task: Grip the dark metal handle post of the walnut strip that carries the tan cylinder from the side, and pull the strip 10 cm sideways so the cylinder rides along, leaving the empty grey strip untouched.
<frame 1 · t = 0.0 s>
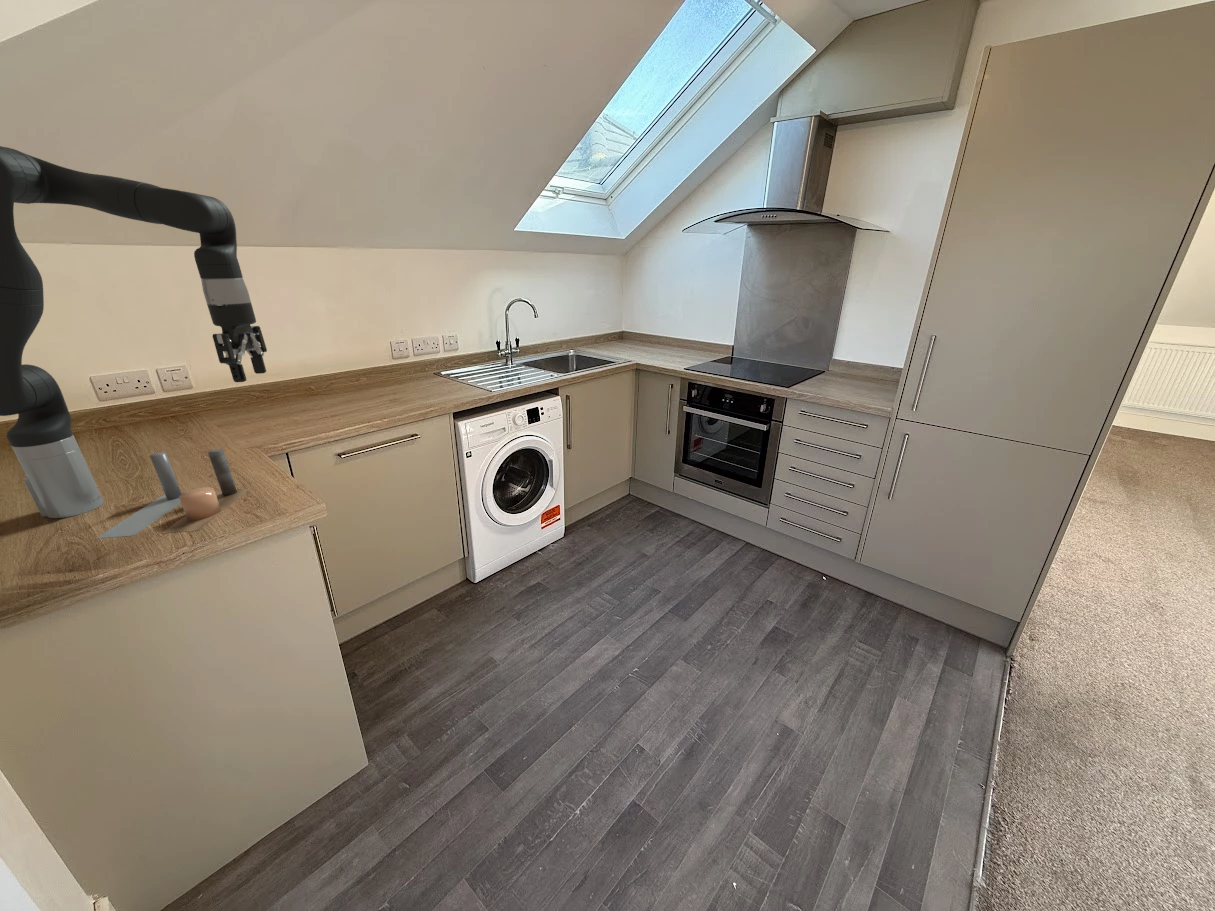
hand: (251, 377, 107), 29 cm above the counter, tool pointing down, fingers open, 8 cm apart
grey strip: (142, 493, 104), point 6 cm above the counter, slide at 0.0 cm
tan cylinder: (204, 513, 106), point 1 cm above the counter, touching walnut strip
walnut strip: (202, 489, 106), point 6 cm above the counter, slide at 0.0 cm, touching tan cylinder
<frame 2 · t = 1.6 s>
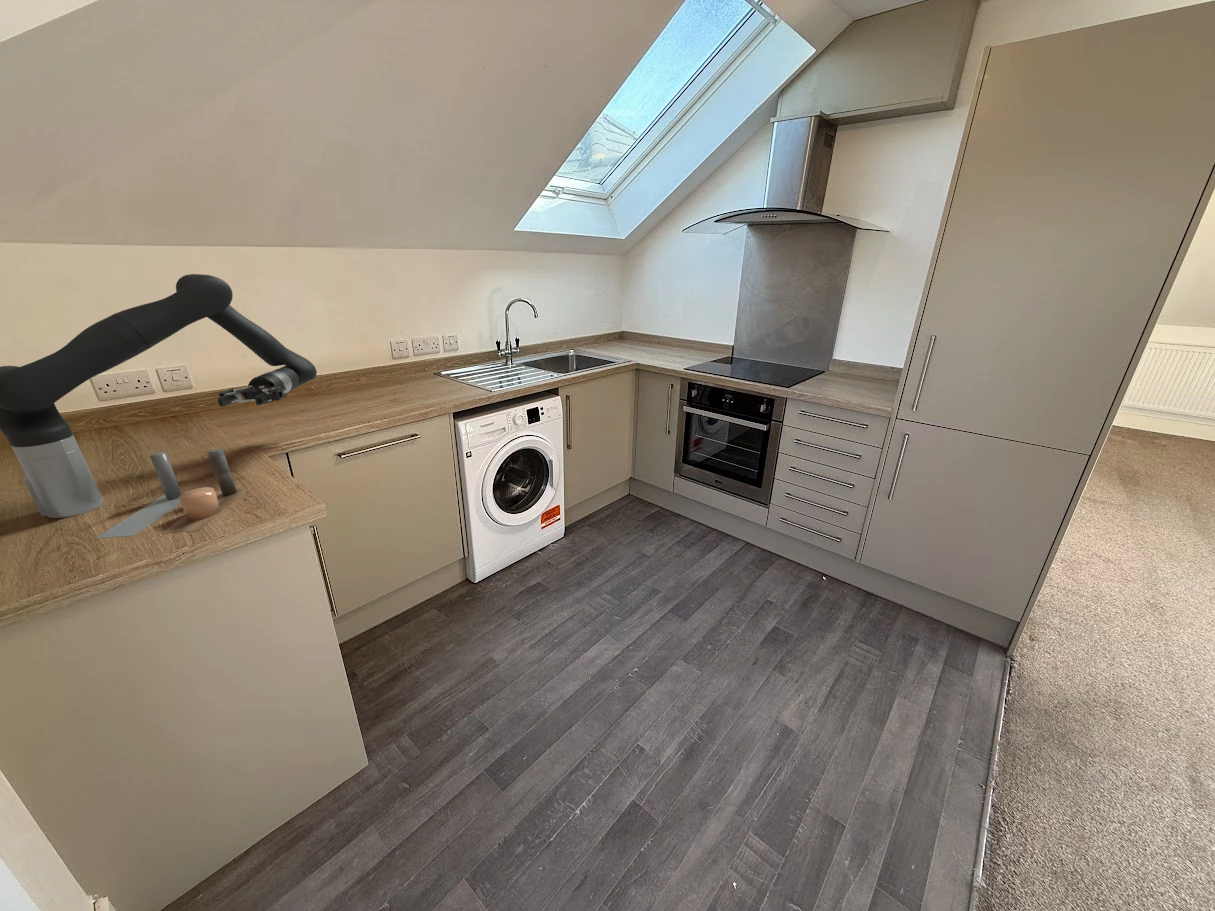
hand: (239, 402, 121), 20 cm above the counter, tool horizontal, fingers open, 8 cm apart
nothing on the counter moved.
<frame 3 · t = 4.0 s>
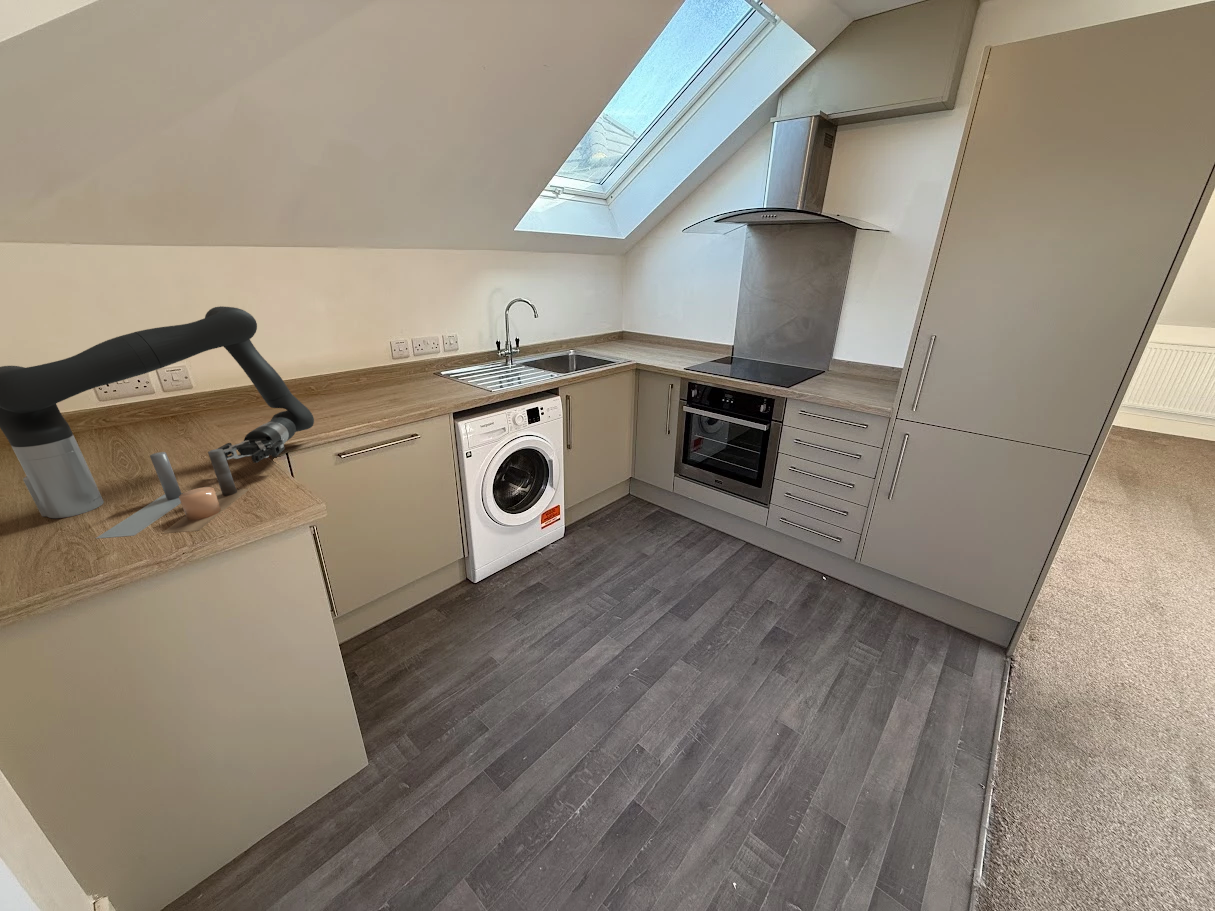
hand: (234, 460, 118), 7 cm above the counter, tool horizontal, fingers open, 8 cm apart
nothing on the counter moved.
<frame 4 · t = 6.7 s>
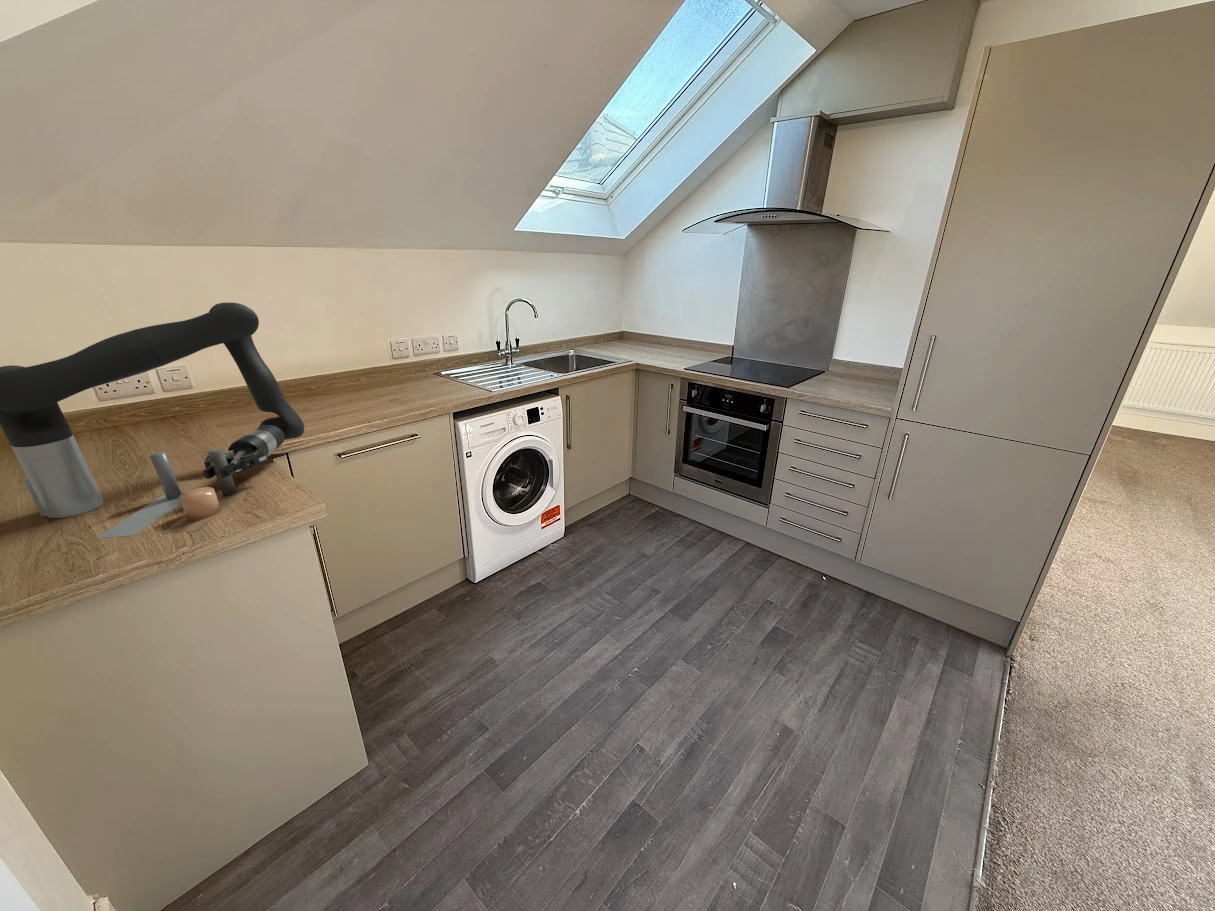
hand: (214, 474, 110), 8 cm above the counter, tool horizontal, fingers closed on walnut strip, 3 cm apart
walnut strip: (202, 489, 106), point 6 cm above the counter, slide at 0.0 cm, touching gripper, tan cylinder
everything else where it was.
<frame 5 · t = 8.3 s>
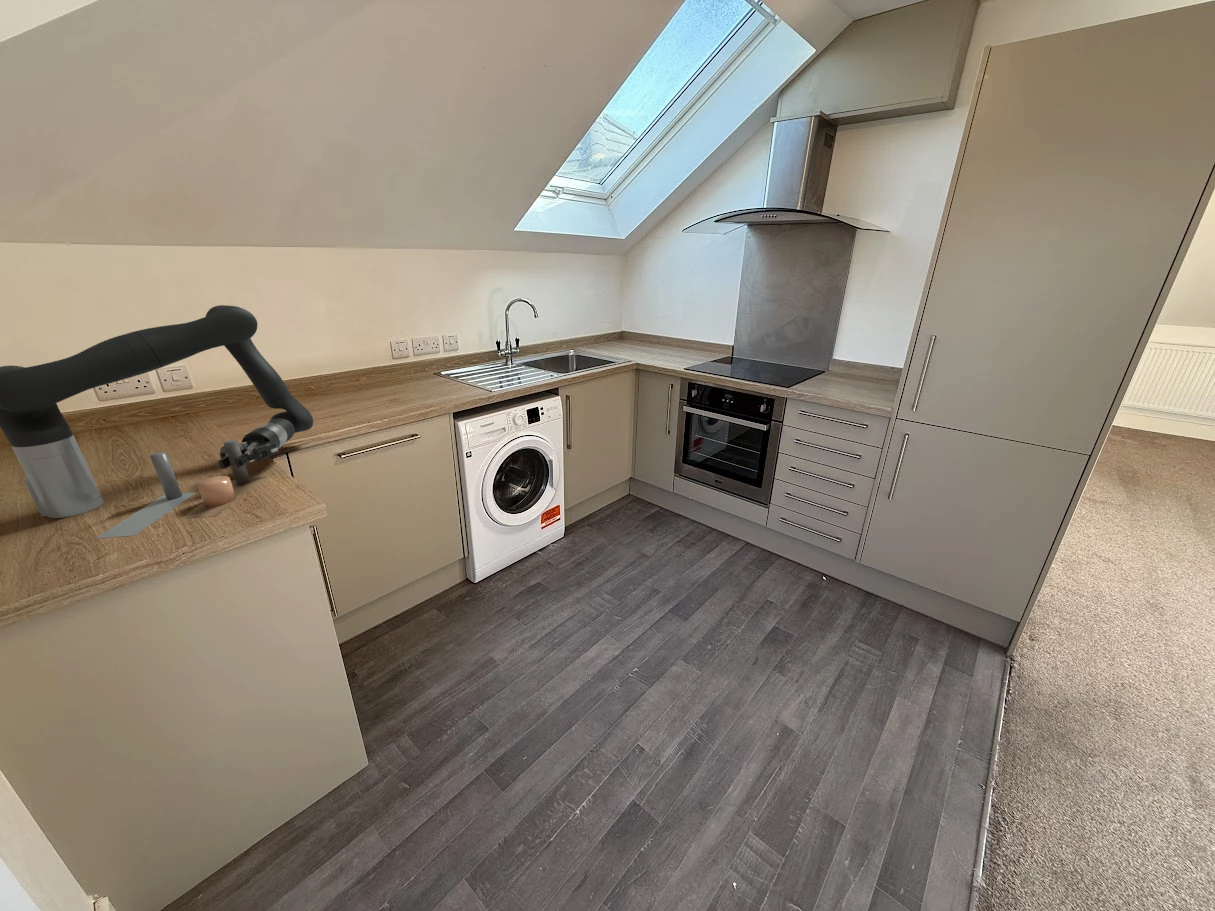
hand: (229, 464, 116), 8 cm above the counter, tool horizontal, fingers closed on walnut strip, 3 cm apart
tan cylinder: (220, 500, 112), point 1 cm above the counter, touching walnut strip
walnut strip: (218, 478, 112), point 6 cm above the counter, slide at 6.1 cm, touching gripper, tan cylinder
everything else where it was.
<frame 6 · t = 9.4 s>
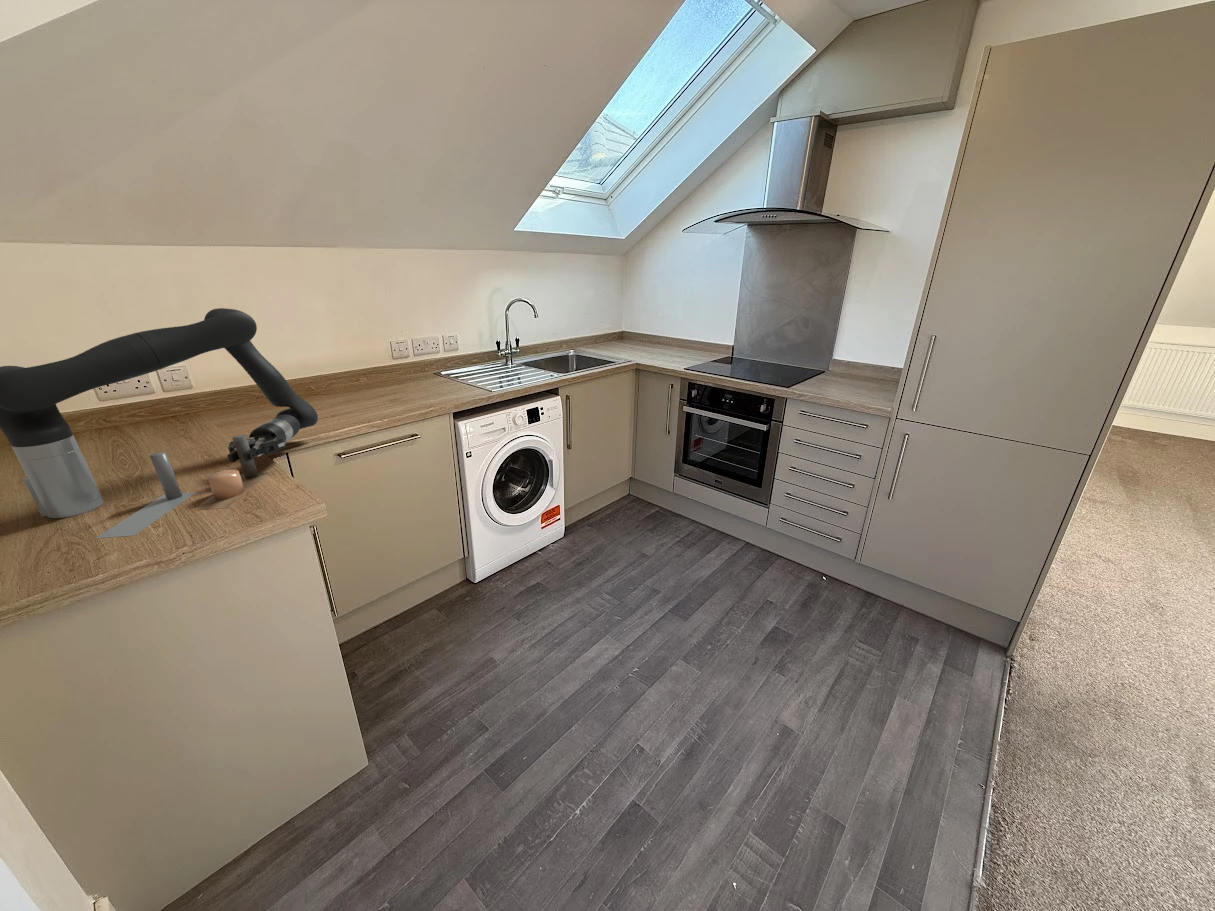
hand: (238, 458, 119), 8 cm above the counter, tool horizontal, fingers closed on walnut strip, 3 cm apart
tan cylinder: (229, 493, 115), point 1 cm above the counter, touching walnut strip
walnut strip: (228, 471, 115), point 6 cm above the counter, slide at 9.9 cm, touching gripper, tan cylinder
everything else where it was.
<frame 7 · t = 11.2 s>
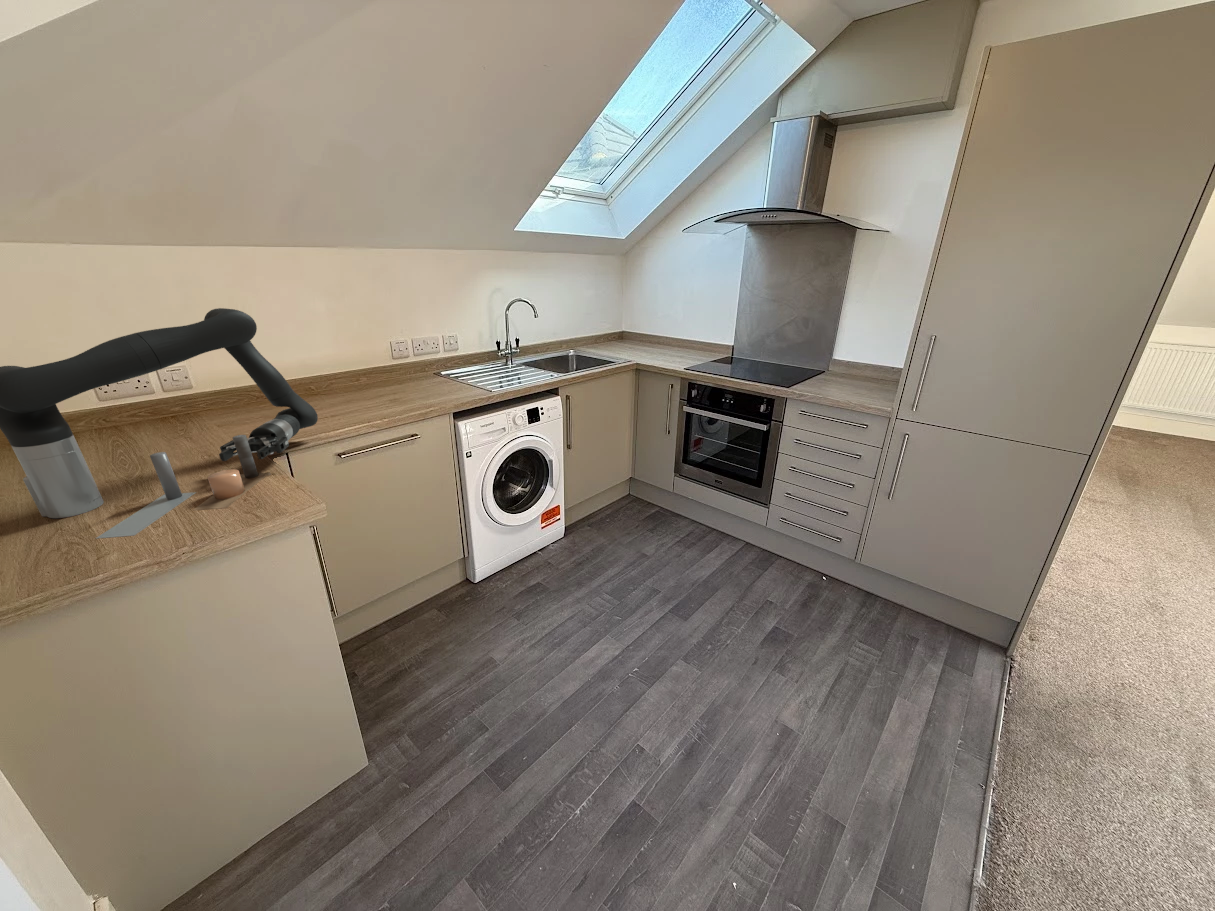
hand: (240, 456, 120), 8 cm above the counter, tool horizontal, fingers open, 8 cm apart
walnut strip: (228, 471, 115), point 6 cm above the counter, slide at 10.0 cm, touching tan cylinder
everything else where it was.
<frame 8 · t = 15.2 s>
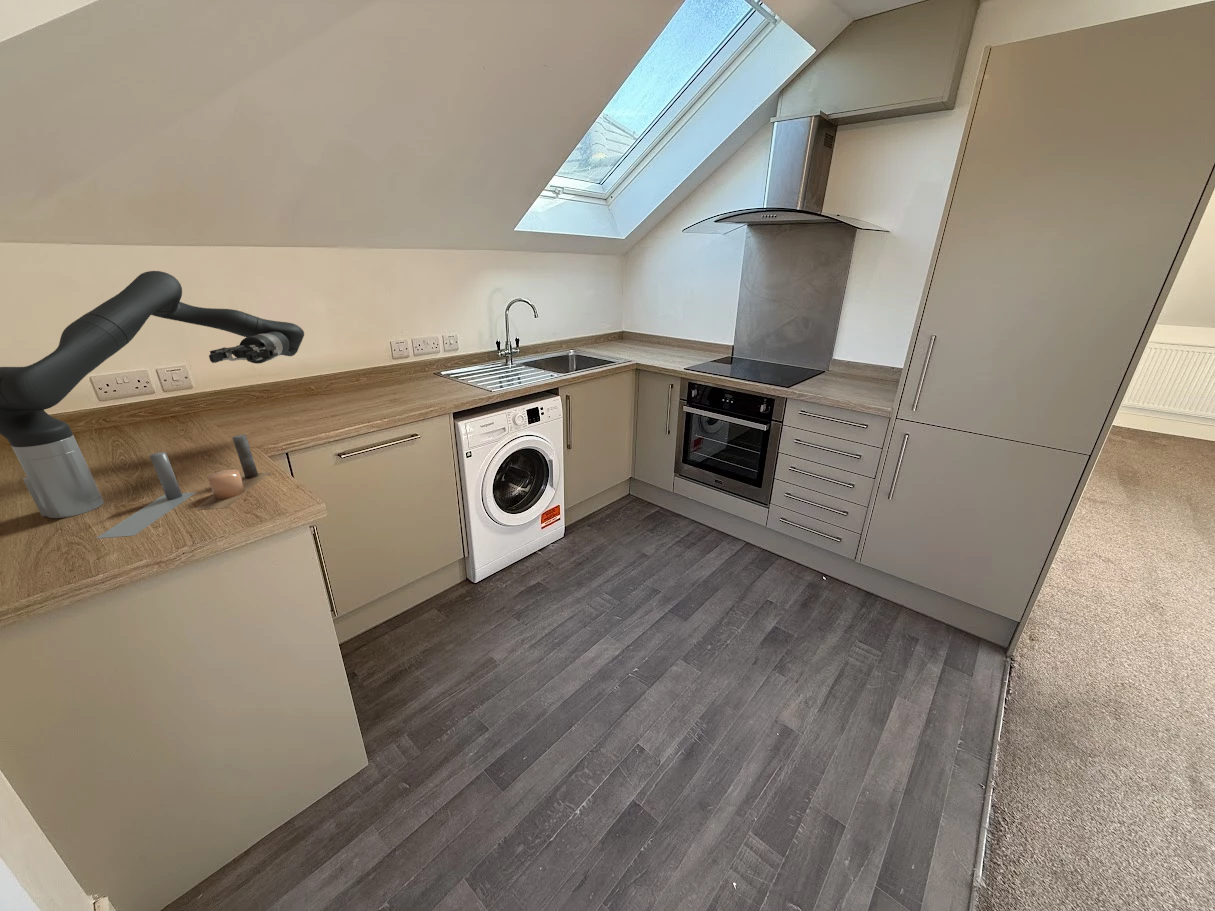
hand: (229, 358, 123), 30 cm above the counter, tool horizontal, fingers open, 8 cm apart
nothing on the counter moved.
at the end: walnut strip slide at 10.0 cm; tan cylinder inside the target area (0.0 cm from its centre), point 1.2 cm above the counter; grey strip slide at 0.0 cm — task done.
